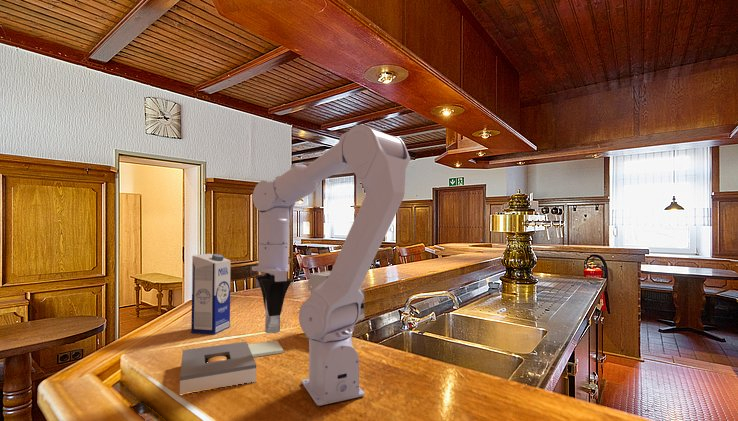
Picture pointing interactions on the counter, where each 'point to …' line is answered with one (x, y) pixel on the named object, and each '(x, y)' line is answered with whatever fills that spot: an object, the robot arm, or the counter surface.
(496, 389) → the counter surface
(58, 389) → the counter surface
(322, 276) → the circuit breaker
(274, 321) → the shiny metal cylinder
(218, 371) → the box
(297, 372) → the counter surface
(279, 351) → the pad
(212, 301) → the milk carton
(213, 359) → the plunger
